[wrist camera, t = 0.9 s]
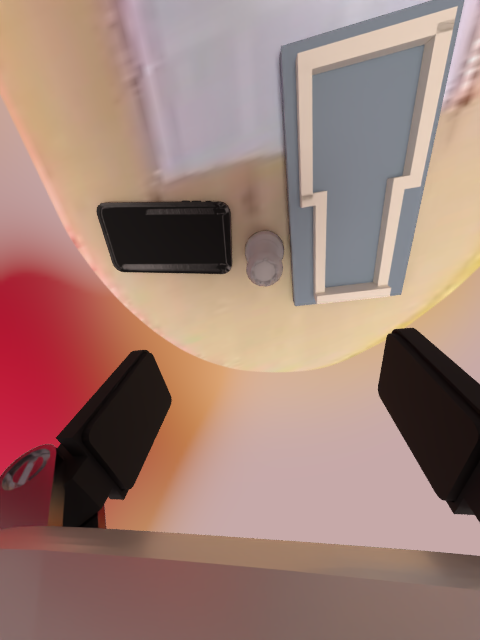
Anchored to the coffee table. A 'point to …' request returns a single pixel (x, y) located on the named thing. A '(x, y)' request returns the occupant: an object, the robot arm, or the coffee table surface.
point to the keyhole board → (362, 147)
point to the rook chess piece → (264, 258)
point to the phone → (168, 236)
